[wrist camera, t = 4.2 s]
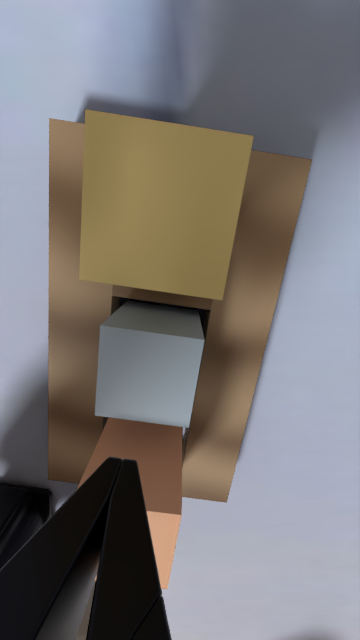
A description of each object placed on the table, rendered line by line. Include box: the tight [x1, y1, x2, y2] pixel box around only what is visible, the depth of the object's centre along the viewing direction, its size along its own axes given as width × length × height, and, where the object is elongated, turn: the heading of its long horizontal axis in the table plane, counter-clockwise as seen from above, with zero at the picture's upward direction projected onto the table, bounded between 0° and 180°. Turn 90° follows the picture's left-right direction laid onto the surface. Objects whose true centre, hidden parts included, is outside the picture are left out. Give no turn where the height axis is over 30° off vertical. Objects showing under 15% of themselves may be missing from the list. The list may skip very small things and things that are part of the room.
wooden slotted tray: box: [48, 118, 312, 502], centre depth 18 cm, size 24×14×2 cm, turn 172°
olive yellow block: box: [79, 109, 254, 300], centre depth 11 cm, size 5×5×6 cm
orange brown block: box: [76, 417, 183, 589], centre depth 15 cm, size 5×5×6 cm
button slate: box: [95, 300, 205, 428], centre depth 16 cm, size 5×5×6 cm
